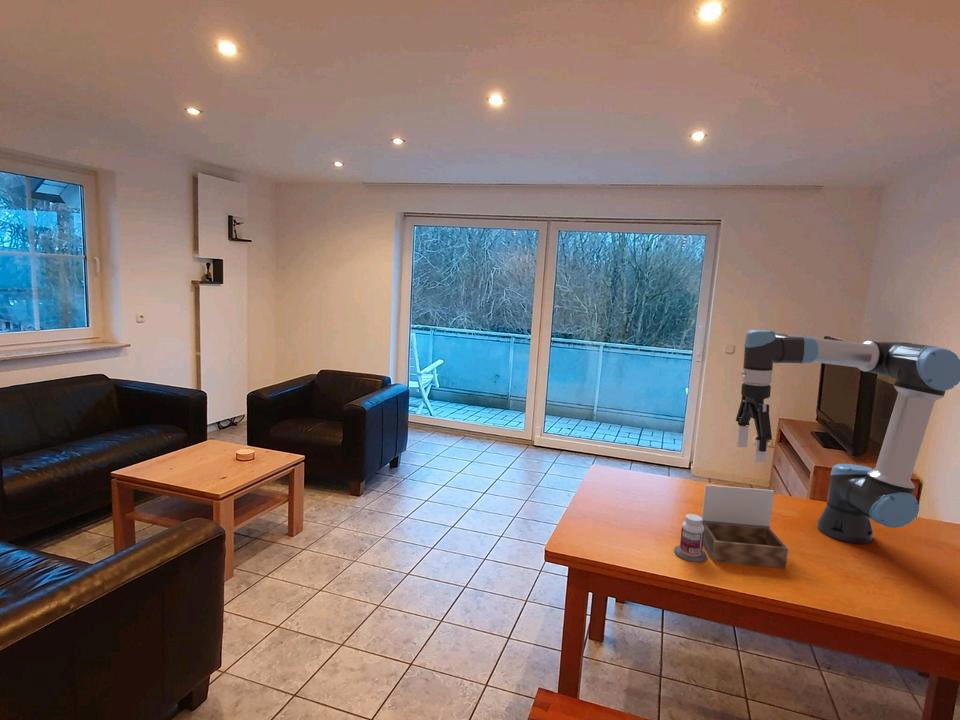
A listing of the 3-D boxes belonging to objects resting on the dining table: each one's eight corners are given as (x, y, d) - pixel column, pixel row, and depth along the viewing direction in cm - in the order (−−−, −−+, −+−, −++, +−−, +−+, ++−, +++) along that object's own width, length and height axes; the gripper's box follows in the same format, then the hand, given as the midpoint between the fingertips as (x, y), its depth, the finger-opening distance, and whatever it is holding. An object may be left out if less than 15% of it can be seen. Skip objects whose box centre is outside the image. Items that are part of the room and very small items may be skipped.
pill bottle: (687, 545, 163) (691, 511, 161) (706, 554, 158) (710, 519, 156) (675, 550, 159) (678, 515, 158) (693, 559, 154) (697, 523, 153)
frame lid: (768, 527, 165) (773, 490, 163) (769, 529, 164) (774, 491, 162) (701, 521, 167) (705, 484, 166) (702, 523, 166) (706, 485, 165)
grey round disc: (701, 548, 162) (701, 546, 162) (710, 563, 154) (710, 561, 153) (670, 545, 163) (671, 543, 163) (678, 560, 155) (678, 558, 154)
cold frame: (761, 540, 169) (766, 504, 167) (785, 568, 153) (790, 528, 151) (696, 534, 172) (700, 498, 170) (712, 561, 155) (717, 522, 153)
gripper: (727, 375, 168) (723, 440, 171) (760, 391, 143) (753, 467, 146) (753, 375, 167) (747, 441, 170) (789, 392, 142) (782, 469, 145)
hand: (750, 453), depth 158 cm, fingers open, 13 cm apart
